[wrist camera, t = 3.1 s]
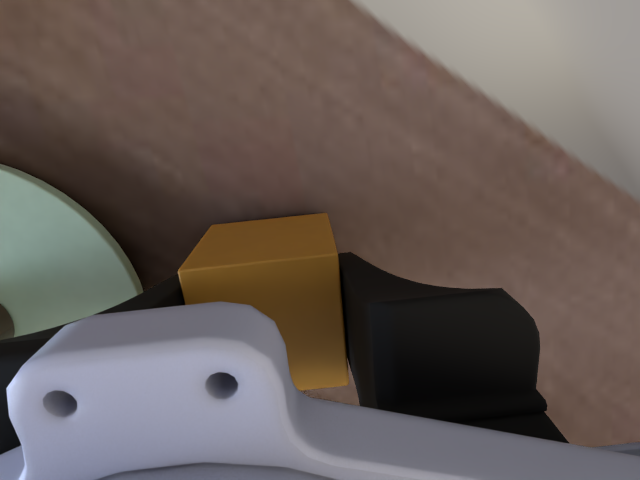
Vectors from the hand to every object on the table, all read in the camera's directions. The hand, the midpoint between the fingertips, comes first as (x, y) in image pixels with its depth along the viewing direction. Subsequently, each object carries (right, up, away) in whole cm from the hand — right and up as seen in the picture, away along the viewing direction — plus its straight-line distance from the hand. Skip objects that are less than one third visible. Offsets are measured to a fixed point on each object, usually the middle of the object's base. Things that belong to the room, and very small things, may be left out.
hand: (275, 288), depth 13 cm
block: (0, 0, +1) cm, 1 cm away
